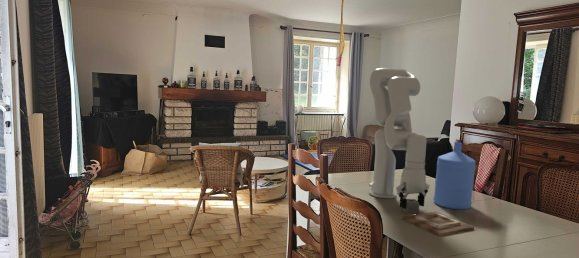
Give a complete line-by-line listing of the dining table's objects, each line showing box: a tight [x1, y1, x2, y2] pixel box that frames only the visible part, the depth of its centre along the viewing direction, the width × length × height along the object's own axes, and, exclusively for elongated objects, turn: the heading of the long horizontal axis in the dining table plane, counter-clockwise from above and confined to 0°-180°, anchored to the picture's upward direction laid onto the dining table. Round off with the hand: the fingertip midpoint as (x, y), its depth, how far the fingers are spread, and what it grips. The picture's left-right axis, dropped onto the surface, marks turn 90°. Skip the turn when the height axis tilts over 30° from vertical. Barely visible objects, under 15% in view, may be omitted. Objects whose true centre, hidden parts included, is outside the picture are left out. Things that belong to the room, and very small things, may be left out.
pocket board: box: [402, 211, 475, 237], centre depth 145 cm, size 18×18×2 cm
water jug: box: [433, 141, 476, 211], centre depth 170 cm, size 16×16×28 cm
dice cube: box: [401, 198, 420, 215], centre depth 157 cm, size 5×5×5 cm
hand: (411, 206), depth 157 cm, fingers open, 9 cm apart
